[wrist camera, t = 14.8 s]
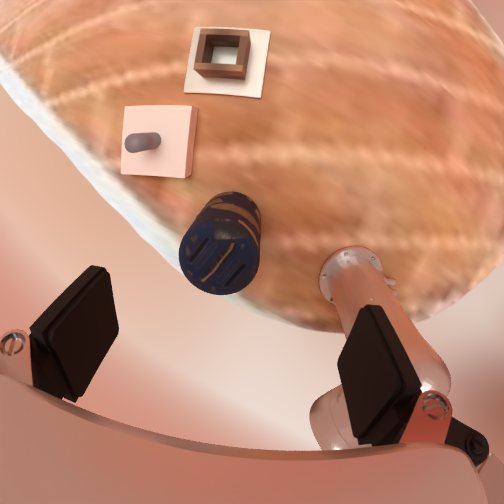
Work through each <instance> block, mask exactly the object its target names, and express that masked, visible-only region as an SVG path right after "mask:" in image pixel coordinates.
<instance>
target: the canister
mask: <svg viewBox="0 0 504 504" xmlns="http://www.w3.org/2000/svg"><path fill="white" fill-rule="evenodd" d="M260 225H261V219H260V213H259V210H258V208H257V206H256V205H255V203H254V202H253V201H252V200H251V199H250V198H249V197H247V196H245V195H243V194H241V193H238V192H224V193H221V194H218V195H216V196H215V197H213V198H212V199H211V200H210V201H209V202H208V203H207V204H206V206H205V207H204V208H203V209H202V211H201V212H200V213H199V215H197V217H196V219H195V221H194V222H193V224H192V225H191V226H190V228H189V229H188V231H187V232H186V234H185V235H184V237H183V239H182V241H181V244H180V248H179V262H180V266H181V269H182V271H183V273H184V275H185V277H186V278H187V279H188V280H189V281H190V282H191V283H192V284H193V285H194V286H196V287H197V288H199V289H200V290H202V291H204V292H207V293H210V294H215V295H228V294H233V293H236V292H238V291H240V290H242V289H244V288H245V287H246V286H247V285H248V284H249V283H250V282H251V281H252V280H253V278H254V277H255V275H256V273H257V271H258V267H259V260H260V237H261V227H260Z"/></svg>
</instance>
